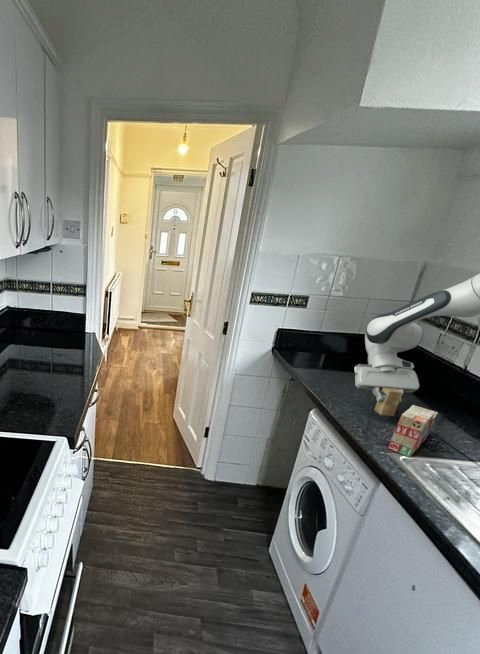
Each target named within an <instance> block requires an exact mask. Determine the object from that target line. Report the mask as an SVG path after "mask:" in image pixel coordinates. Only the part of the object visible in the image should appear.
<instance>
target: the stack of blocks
mask: <svg viewBox="0 0 480 654" xmlns="http://www.w3.org/2000/svg"><path fill="white" fill-rule="evenodd" d="M438 414H439V412H438V411H434V410H432V409H428V408H426V407H425V408H424V407H422V406H417V405H415V404H412V405H411V406H410V407H409V408H408V409H406V410H405V411H404V412H403V413H401V416H400V418H399V420H398V422H397V425H396V426H395V429H394V430H393V434H392V437H391V439H390V441H389V443H388V445H387V447H386V449H387V450H389V451H392V452H394V453H397V454H400V455H402V456H405V457H408V458H411V457H412V455H413V454H414V453H415V452H416V451H417V450H418V449H419V447H420V446H421V445H422V444H423V443H424V442H425V440H426V439H427V438H428V437H429V434H430V432H431V430H432V428H433V426H434V424H435V422H436V421H435V420H436V418H437V417H438Z"/></svg>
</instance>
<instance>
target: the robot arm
mask: <svg viewBox="0 0 480 654" xmlns="http://www.w3.org/2000/svg"><path fill="white" fill-rule="evenodd" d="M441 316H442V317H443V316H445V317H458V318H473V317H476V316H480V273H478V274H476V275H474V276H472V277H471V278H469V279H466V280H464V281H462V282H460V283H458V284H455V285H453V286H451V287H448V288H445V289H442V290H438V291H435V292H432V293H430V294H427V295H425V296H423V297H420V298H418V299H416V300H413V301H412V302H409V303H407V304H406V305H403V306H401V307H399V308H397V309H395V310H393V311H390V312H385V313H381V314H377V315H376V316H374V317H373V318H372V319H370V321H369V322H368V323H367V325H366V327H365V334H364V345H365V351H366V353H367V363H366V364H363V363H358V364H356V365H355V366H353V367H354V368H353V369H354V374H355V376H354V385H355V387H356V389H358V390H370V391H371V392H372V394H373V395H374V396H375V397H376V402H377V401H383V400H384V395H381V394H380V392H381V389H382V387H386V388H396V389H398V390H399V391H401V392H402V395H401V398H400V401H399V403H401V402H402V400H403V399H402V396H403V394H404V393H409V394H411V393H414V392H416V391H418V390H419V388H420V382H419V378H418V375H417V373H416V371H415V370H413V369H414V368H415V364H414V363H413V362H410V361H408V360H405V359H402V358H400V357H398V355H397V354H398V353H403V352H406V351H410V350H412V349H415V348H416V347H418V346H419V345H420V344H421V343H422V340H423V338H424V330H423V328H422V326H421V325H420V324H418V323H416V322H419V321H421V320H423V319H427V318H430V317H441Z"/></svg>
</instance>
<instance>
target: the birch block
mask: <svg viewBox="0 0 480 654" xmlns="http://www.w3.org/2000/svg"><path fill="white" fill-rule="evenodd" d="M379 392H380V394H381V395H384V400H383V401H377V400H376V404H375V406H374V409H373V411H375V412H376V413H377V414H379V415H380V416H386V417H387V416H388V417H394V416H395V414H396V411H397V408H398V406H399V404H400V402H399V401H400V398H401V399H402V396H403V394H402V392H401V391H399V390H398V389H396V388H386V387H382V389H381V390H380V391H379ZM401 395H402V396H401Z"/></svg>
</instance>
